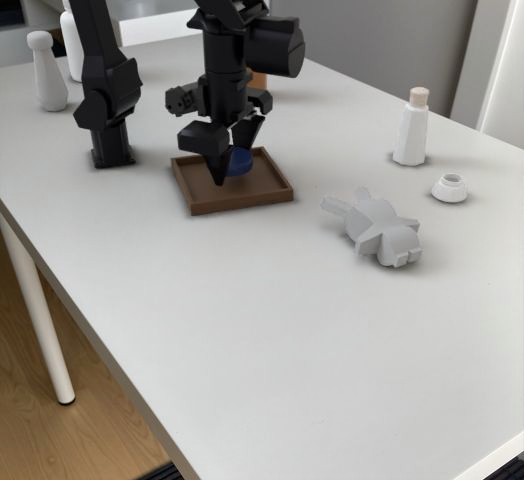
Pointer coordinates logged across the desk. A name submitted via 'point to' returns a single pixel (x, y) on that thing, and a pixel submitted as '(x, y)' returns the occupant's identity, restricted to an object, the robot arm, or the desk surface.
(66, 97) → the salt shaker
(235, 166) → the lid
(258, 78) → the jar
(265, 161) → the tray
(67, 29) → the pill bottle
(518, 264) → the desk surface
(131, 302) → the desk surface
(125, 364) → the desk surface
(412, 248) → the bunny figurine
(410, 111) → the pepper shaker
